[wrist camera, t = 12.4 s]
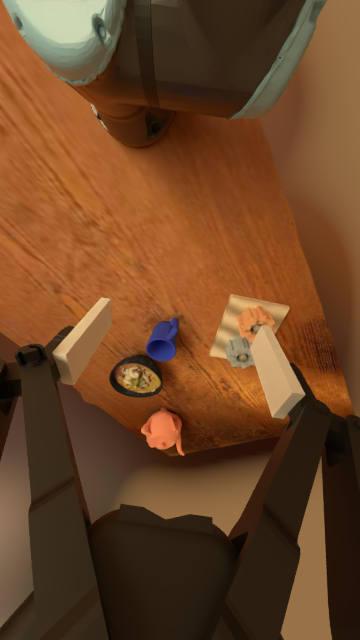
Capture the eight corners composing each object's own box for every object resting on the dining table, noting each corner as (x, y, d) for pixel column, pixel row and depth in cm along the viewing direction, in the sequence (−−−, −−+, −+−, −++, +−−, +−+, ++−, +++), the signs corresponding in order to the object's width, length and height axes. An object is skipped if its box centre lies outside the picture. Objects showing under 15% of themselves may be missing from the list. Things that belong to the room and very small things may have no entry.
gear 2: (243, 302, 51) (247, 312, 47) (275, 308, 51) (282, 319, 47) (232, 328, 56) (234, 339, 52) (261, 334, 56) (266, 345, 52)
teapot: (180, 404, 81) (177, 438, 70) (186, 425, 90) (184, 458, 79) (144, 405, 84) (136, 438, 73) (153, 425, 93) (147, 457, 82)
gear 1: (223, 337, 58) (225, 348, 54) (254, 333, 56) (259, 344, 52) (226, 358, 63) (228, 370, 58) (255, 355, 61) (259, 367, 57)
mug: (190, 317, 57) (189, 338, 48) (170, 343, 63) (166, 365, 54) (166, 303, 55) (161, 323, 46) (148, 331, 61) (140, 353, 52)
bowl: (169, 378, 72) (165, 401, 64) (126, 379, 75) (117, 402, 66) (161, 343, 63) (155, 366, 55) (112, 346, 66) (100, 368, 57)
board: (231, 293, 52) (235, 306, 46) (287, 305, 52) (299, 319, 46) (209, 352, 64) (210, 368, 58) (255, 361, 64) (261, 377, 58)
